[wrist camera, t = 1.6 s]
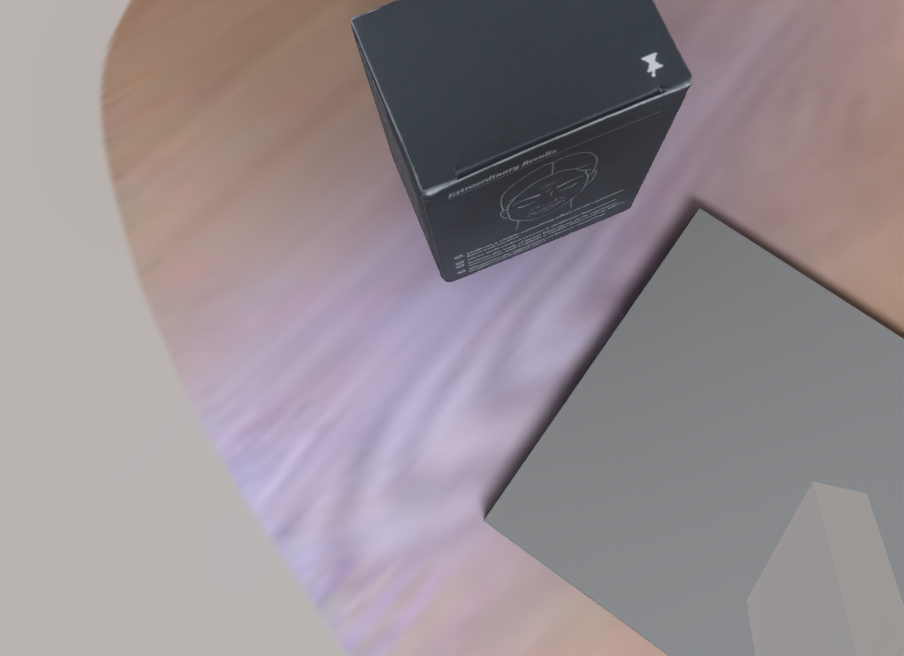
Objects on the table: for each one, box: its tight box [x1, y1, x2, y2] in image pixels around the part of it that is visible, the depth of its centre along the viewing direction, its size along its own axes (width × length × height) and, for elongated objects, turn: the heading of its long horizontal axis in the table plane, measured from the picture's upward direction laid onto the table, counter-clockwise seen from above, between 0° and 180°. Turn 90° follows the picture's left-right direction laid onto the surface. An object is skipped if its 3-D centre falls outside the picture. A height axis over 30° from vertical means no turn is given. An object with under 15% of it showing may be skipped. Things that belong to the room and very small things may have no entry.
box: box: [351, 0, 692, 282], centre depth 27 cm, size 8×6×11 cm
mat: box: [484, 209, 904, 656], centre depth 29 cm, size 15×14×1 cm
